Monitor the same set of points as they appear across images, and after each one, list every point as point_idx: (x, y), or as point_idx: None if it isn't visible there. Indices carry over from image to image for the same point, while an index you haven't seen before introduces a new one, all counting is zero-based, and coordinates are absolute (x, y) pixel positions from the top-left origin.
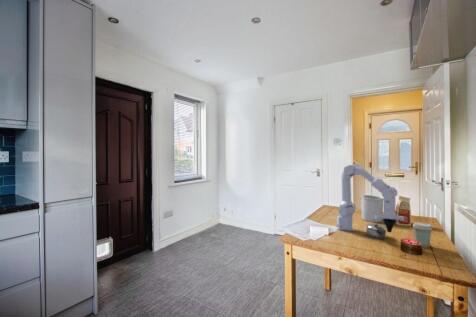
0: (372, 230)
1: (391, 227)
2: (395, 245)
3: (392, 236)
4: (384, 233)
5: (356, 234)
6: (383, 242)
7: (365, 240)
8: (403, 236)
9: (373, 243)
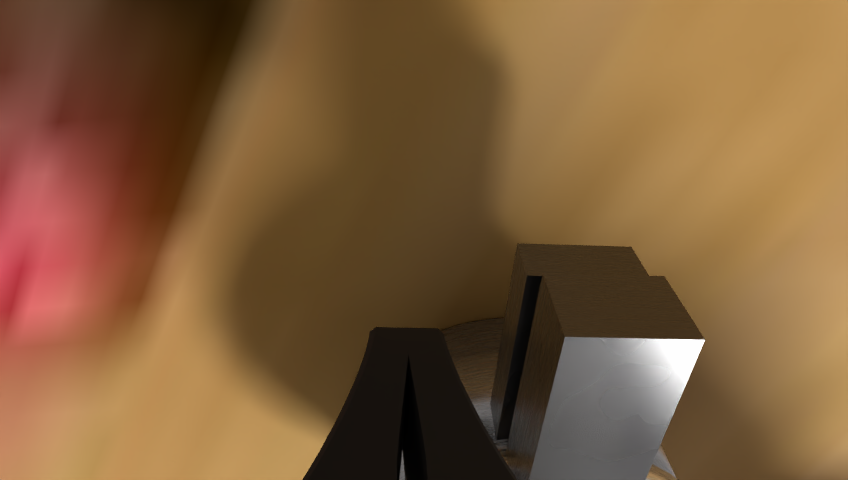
0: (659, 464)
1: (375, 439)
2: (369, 19)
3: (233, 422)
4: (577, 277)
5: (775, 438)
6: (541, 164)
7: (833, 227)
8: (52, 437)
9: (795, 91)
